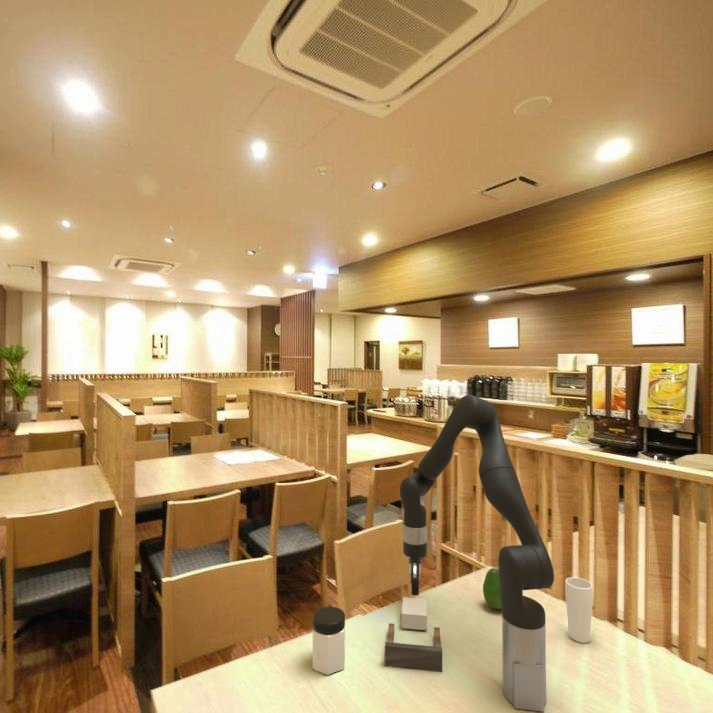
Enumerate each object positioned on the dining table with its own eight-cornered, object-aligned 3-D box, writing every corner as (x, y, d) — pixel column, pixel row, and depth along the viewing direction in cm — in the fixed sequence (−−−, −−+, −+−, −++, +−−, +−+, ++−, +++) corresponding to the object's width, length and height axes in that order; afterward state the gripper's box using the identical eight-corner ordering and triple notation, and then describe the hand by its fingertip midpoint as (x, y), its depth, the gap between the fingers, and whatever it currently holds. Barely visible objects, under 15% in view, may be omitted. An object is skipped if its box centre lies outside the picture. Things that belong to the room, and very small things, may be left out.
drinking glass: (587, 631, 122) (586, 577, 123) (598, 646, 116) (597, 589, 116) (562, 629, 123) (561, 576, 123) (571, 645, 116) (570, 588, 117)
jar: (304, 667, 108) (304, 618, 108) (323, 648, 115) (323, 602, 115) (335, 680, 103) (335, 628, 104) (352, 660, 110) (352, 612, 111)
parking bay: (442, 671, 106) (442, 651, 106) (385, 666, 108) (384, 645, 108) (439, 636, 120) (439, 618, 120) (388, 632, 122) (388, 614, 122)
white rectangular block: (426, 632, 122) (426, 615, 122) (401, 630, 123) (401, 613, 123) (426, 614, 131) (426, 598, 131) (402, 612, 132) (402, 597, 132)
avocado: (477, 604, 136) (477, 565, 137) (497, 599, 139) (497, 561, 140) (495, 618, 129) (494, 577, 129) (515, 612, 132) (515, 572, 132)
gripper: (427, 548, 130) (427, 606, 130) (426, 531, 143) (427, 584, 143) (402, 546, 131) (402, 604, 131) (404, 530, 145) (404, 582, 144)
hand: (415, 594), depth 137 cm, fingers closed
